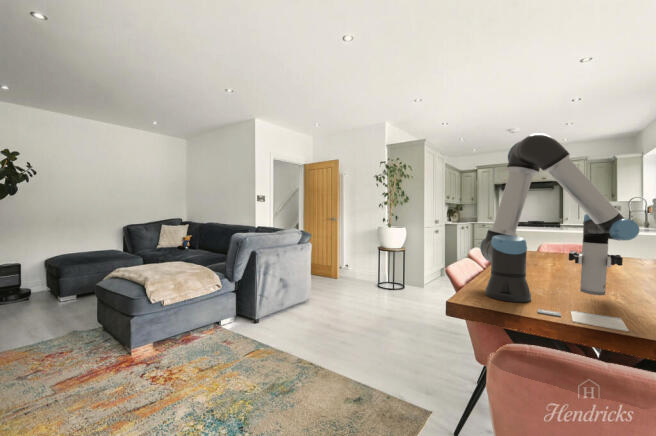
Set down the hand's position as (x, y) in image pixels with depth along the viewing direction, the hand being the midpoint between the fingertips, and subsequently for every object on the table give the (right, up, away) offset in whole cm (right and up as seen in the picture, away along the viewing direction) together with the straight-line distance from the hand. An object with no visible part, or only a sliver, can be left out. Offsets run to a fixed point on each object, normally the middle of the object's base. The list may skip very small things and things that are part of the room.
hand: (594, 261), depth 96 cm
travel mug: (+3, -11, +4) cm, 12 cm away
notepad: (-3, -17, -5) cm, 18 cm away
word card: (-13, -17, +2) cm, 22 cm away
